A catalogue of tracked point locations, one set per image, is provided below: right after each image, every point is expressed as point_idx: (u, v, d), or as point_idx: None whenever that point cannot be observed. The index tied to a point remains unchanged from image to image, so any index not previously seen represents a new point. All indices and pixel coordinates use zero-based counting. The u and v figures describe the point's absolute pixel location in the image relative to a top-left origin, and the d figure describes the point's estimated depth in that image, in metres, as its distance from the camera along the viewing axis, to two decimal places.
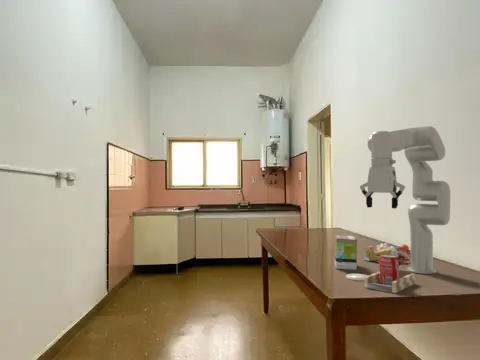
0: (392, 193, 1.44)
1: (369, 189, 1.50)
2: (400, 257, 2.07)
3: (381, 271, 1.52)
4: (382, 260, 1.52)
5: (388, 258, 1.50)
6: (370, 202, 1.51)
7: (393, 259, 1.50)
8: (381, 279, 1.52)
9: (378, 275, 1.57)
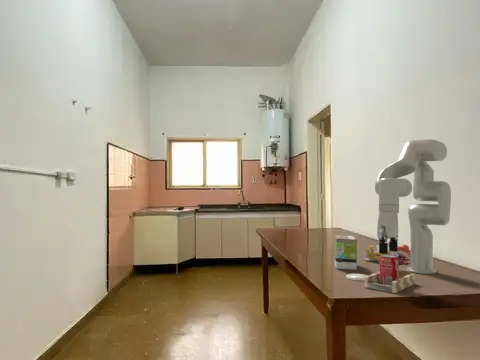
0: (396, 237, 1.55)
1: (389, 235, 1.48)
2: (400, 257, 2.06)
3: (381, 271, 1.52)
4: (382, 260, 1.52)
5: (388, 258, 1.50)
6: None
7: (393, 259, 1.50)
8: (381, 279, 1.52)
9: (378, 275, 1.57)
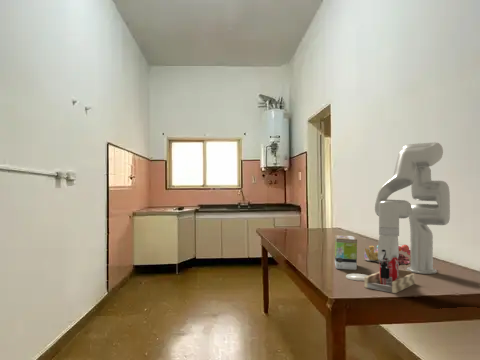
0: None
1: (390, 259, 1.49)
2: (400, 257, 2.06)
3: None
4: None
5: None
6: None
7: (393, 259, 1.50)
8: (381, 279, 1.52)
9: (378, 275, 1.57)
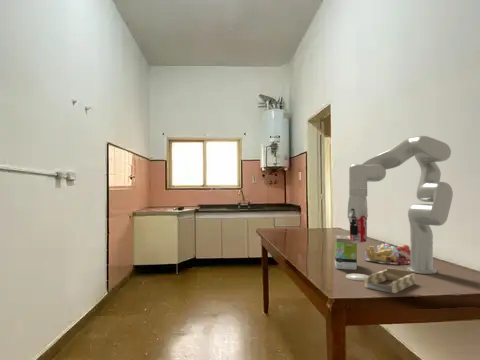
0: None
1: (358, 217, 1.62)
2: (401, 257, 2.05)
3: None
4: None
5: None
6: None
7: (361, 217, 1.64)
8: (351, 236, 1.65)
9: (378, 275, 1.57)
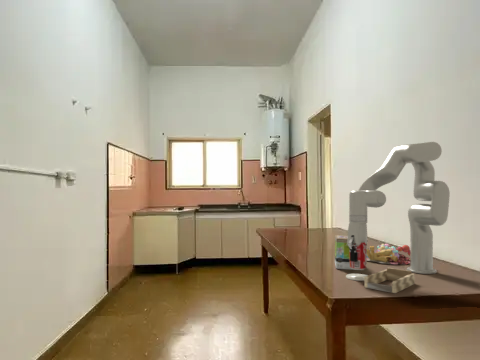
0: None
1: (358, 243, 1.62)
2: (401, 257, 2.05)
3: None
4: None
5: None
6: None
7: (361, 244, 1.63)
8: (350, 262, 1.65)
9: (378, 275, 1.57)
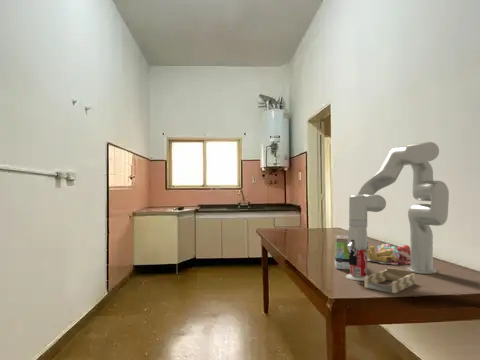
0: (366, 249, 1.69)
1: (358, 248, 1.62)
2: None
3: None
4: None
5: None
6: None
7: (362, 251, 1.63)
8: (351, 270, 1.65)
9: (378, 275, 1.57)
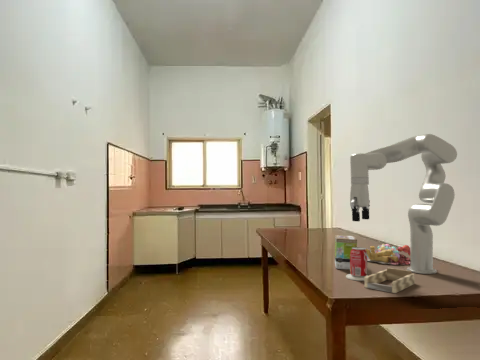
0: (368, 206, 1.73)
1: (361, 204, 1.66)
2: (401, 258, 2.04)
3: (351, 262, 1.65)
4: (352, 252, 1.65)
5: (357, 250, 1.64)
6: None
7: (362, 251, 1.63)
8: (351, 269, 1.65)
9: (378, 275, 1.57)
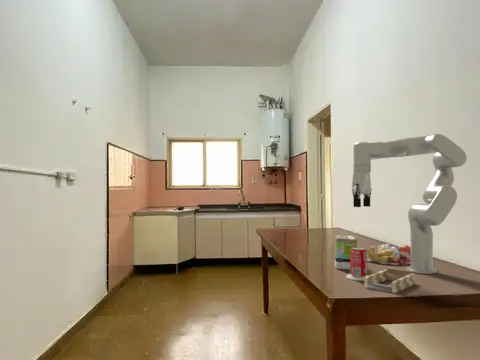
0: (369, 194, 1.78)
1: (362, 191, 1.72)
2: (402, 258, 2.04)
3: (351, 262, 1.65)
4: (352, 252, 1.65)
5: (357, 250, 1.64)
6: None
7: (362, 251, 1.63)
8: (351, 270, 1.65)
9: (378, 275, 1.57)
